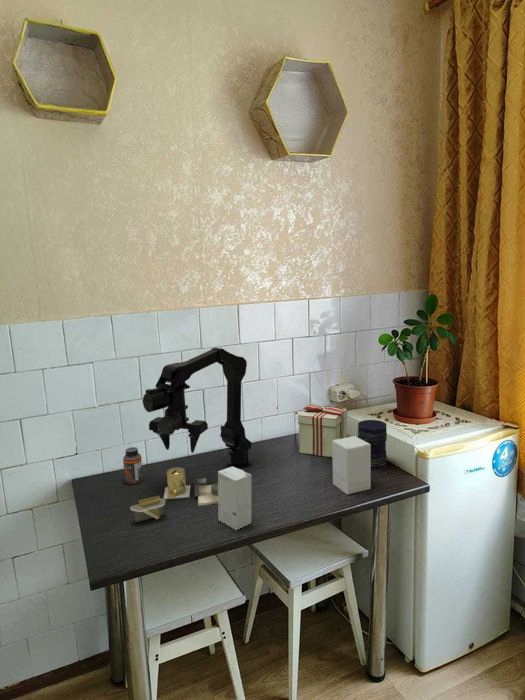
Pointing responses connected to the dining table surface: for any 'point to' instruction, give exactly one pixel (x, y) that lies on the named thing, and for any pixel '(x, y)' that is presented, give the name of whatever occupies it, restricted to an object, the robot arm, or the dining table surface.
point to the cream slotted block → (206, 492)
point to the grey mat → (185, 495)
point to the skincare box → (234, 497)
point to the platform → (148, 509)
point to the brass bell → (176, 482)
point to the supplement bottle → (132, 466)
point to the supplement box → (351, 464)
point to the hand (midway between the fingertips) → (180, 450)
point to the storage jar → (374, 441)
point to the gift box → (321, 429)
